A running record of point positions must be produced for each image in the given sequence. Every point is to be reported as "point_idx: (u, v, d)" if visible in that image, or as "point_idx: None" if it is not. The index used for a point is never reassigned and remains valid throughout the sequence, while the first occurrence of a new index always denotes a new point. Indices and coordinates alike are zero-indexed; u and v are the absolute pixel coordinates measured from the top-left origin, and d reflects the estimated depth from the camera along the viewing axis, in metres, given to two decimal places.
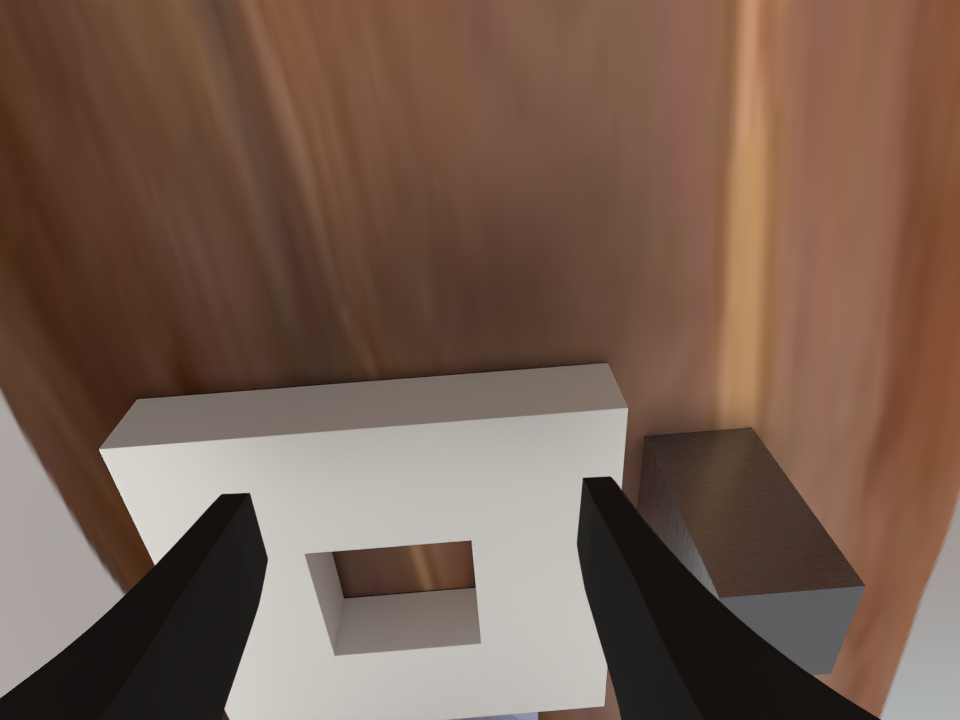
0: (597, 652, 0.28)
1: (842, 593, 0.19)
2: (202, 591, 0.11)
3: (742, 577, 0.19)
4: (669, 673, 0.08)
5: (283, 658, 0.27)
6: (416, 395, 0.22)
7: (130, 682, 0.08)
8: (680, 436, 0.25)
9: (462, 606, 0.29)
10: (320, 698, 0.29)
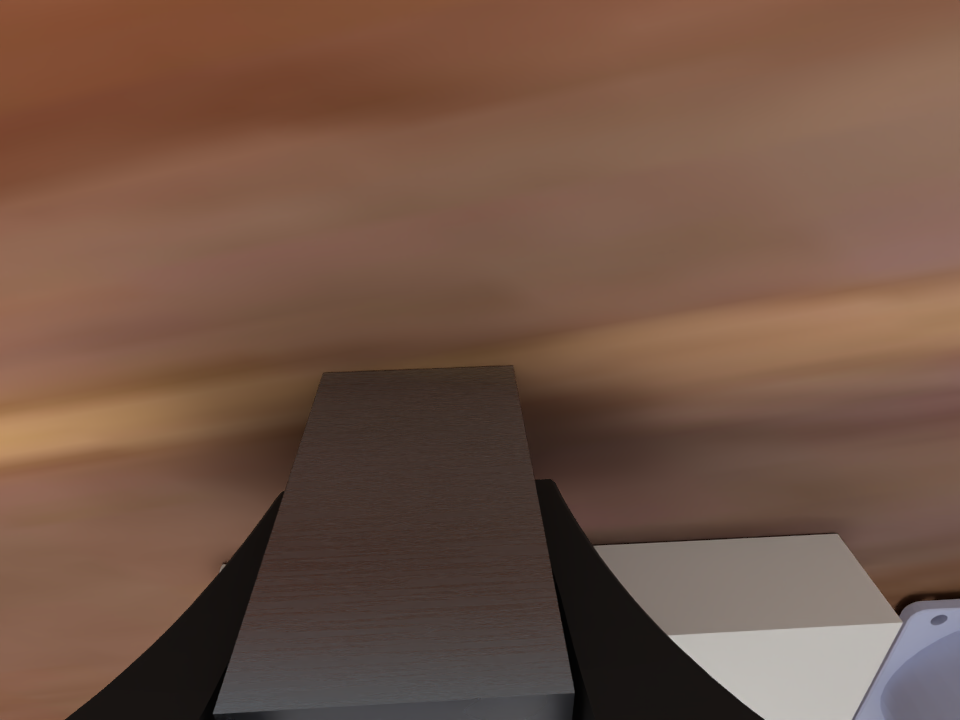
0: (729, 644, 0.16)
1: None
2: None
3: None
4: (577, 679, 0.08)
5: None
6: None
7: (224, 676, 0.08)
8: None
9: None
10: None
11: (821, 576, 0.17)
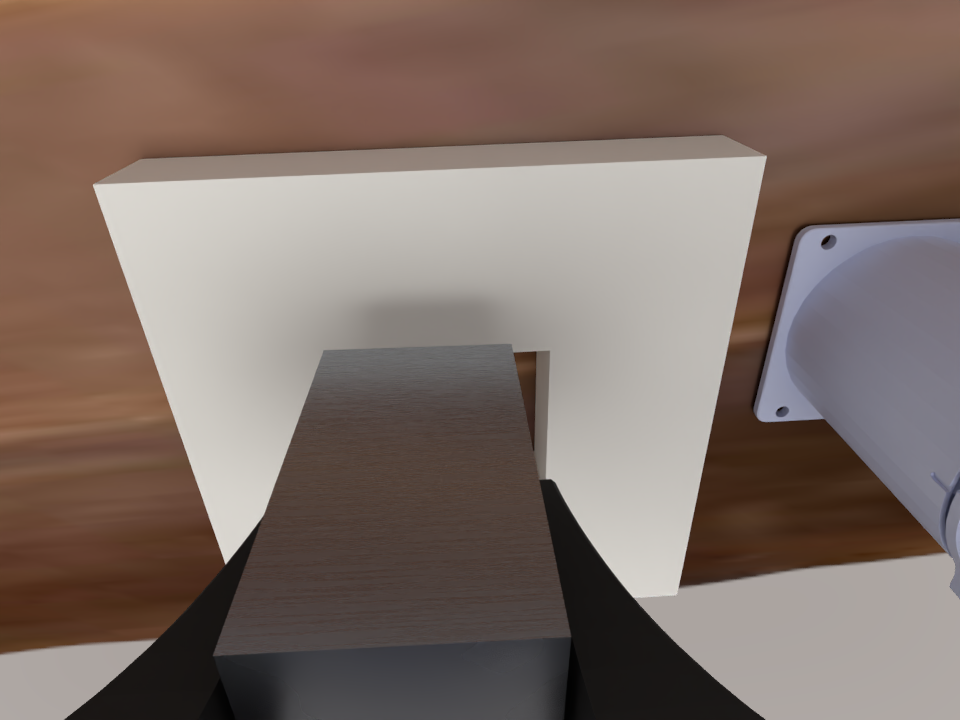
0: (605, 181, 0.17)
1: (245, 686, 0.08)
2: None
3: None
4: (578, 679, 0.08)
5: None
6: None
7: None
8: None
9: None
10: (624, 520, 0.23)
11: (699, 146, 0.18)
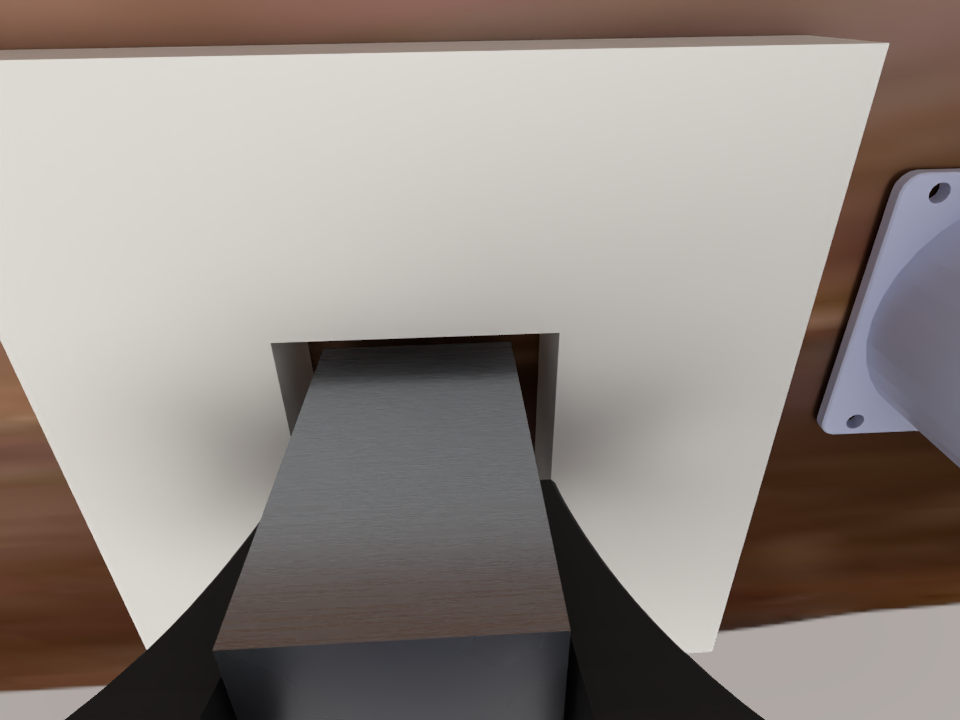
0: (647, 77, 0.11)
1: (244, 680, 0.08)
2: None
3: None
4: (577, 679, 0.08)
5: None
6: None
7: None
8: None
9: None
10: (650, 560, 0.18)
11: (779, 39, 0.12)
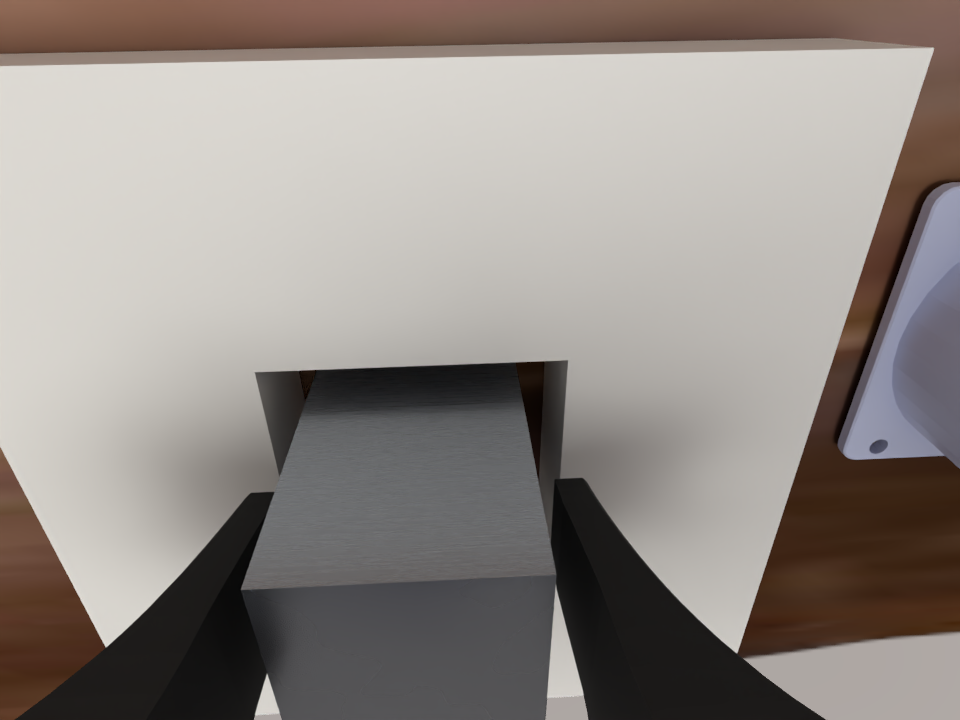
0: (667, 85, 0.10)
1: (267, 618, 0.09)
2: (237, 589, 0.11)
3: None
4: (626, 676, 0.08)
5: None
6: None
7: (175, 679, 0.08)
8: None
9: None
10: None
11: (809, 43, 0.11)
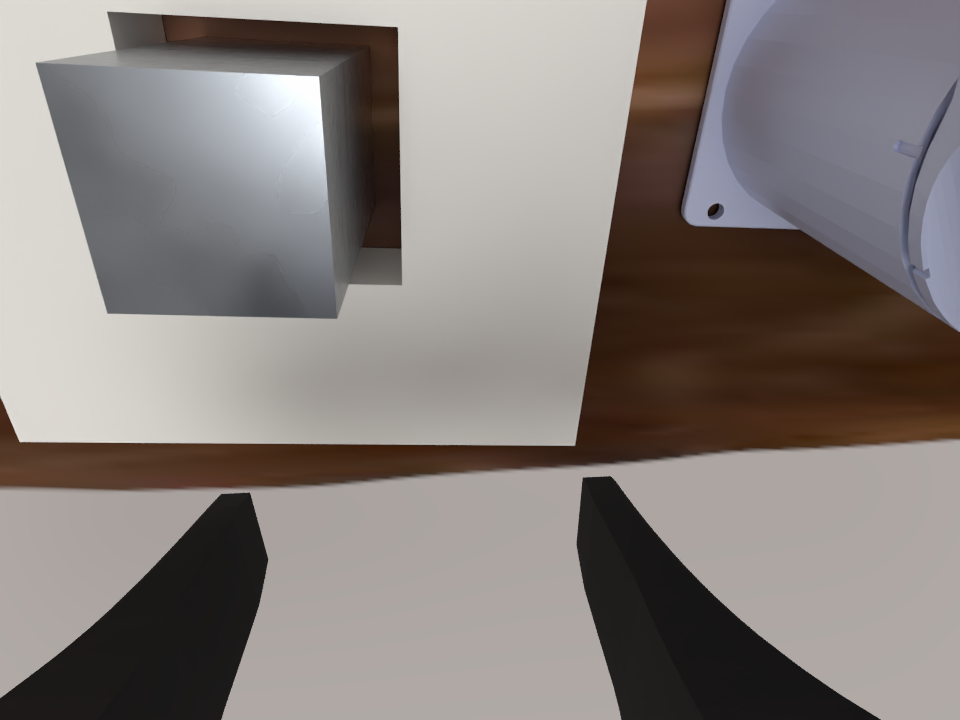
0: None
1: (64, 106, 0.10)
2: (202, 591, 0.11)
3: None
4: (669, 673, 0.08)
5: (399, 352, 0.19)
6: None
7: (130, 682, 0.08)
8: None
9: None
10: (506, 324, 0.18)
11: None
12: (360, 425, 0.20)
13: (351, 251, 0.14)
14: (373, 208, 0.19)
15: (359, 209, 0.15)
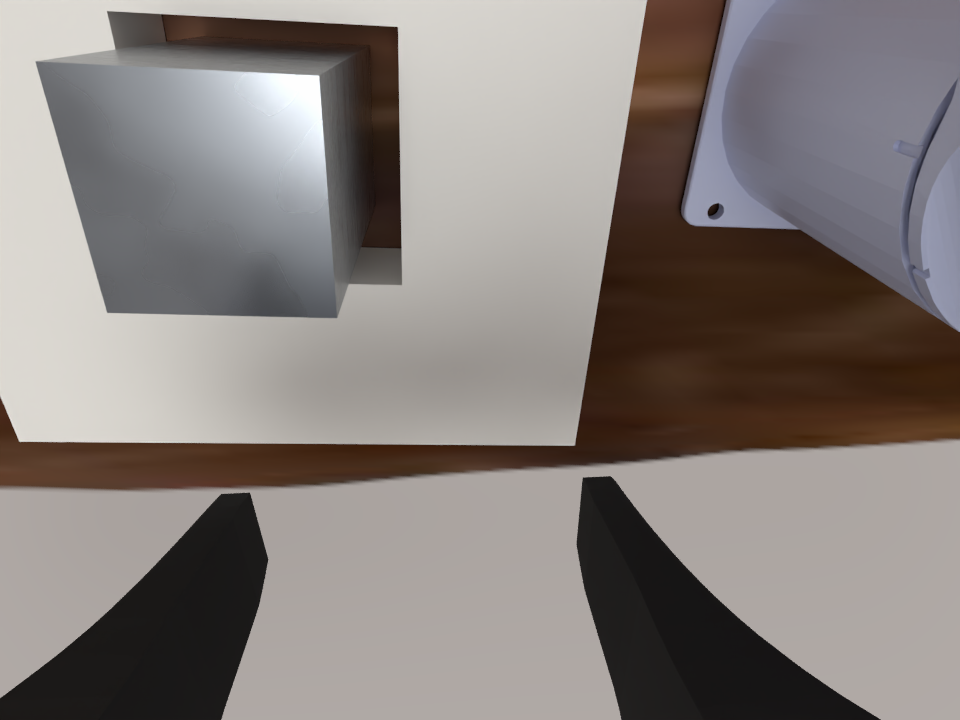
0: None
1: (64, 104, 0.10)
2: (202, 591, 0.11)
3: None
4: (669, 674, 0.08)
5: (398, 352, 0.19)
6: None
7: (130, 682, 0.08)
8: None
9: None
10: (506, 324, 0.18)
11: None
12: (360, 425, 0.20)
13: (351, 250, 0.14)
14: (373, 208, 0.19)
15: (359, 209, 0.15)
